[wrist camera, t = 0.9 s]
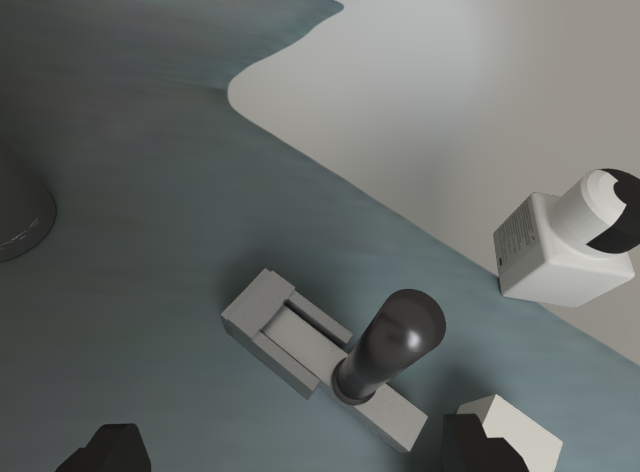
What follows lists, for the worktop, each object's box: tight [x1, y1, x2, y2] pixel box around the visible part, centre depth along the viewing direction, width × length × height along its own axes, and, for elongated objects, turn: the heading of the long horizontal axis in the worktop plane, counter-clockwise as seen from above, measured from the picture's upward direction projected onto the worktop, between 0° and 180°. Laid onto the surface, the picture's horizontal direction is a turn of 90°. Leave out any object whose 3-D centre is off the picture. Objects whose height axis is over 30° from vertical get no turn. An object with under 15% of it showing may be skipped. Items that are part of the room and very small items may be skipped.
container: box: [493, 169, 640, 308], centre depth 34 cm, size 8×8×13 cm
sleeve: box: [220, 268, 353, 400], centre depth 31 cm, size 9×5×5 cm, turn 53°
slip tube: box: [260, 289, 446, 453], centre depth 24 cm, size 16×3×17 cm, turn 53°
